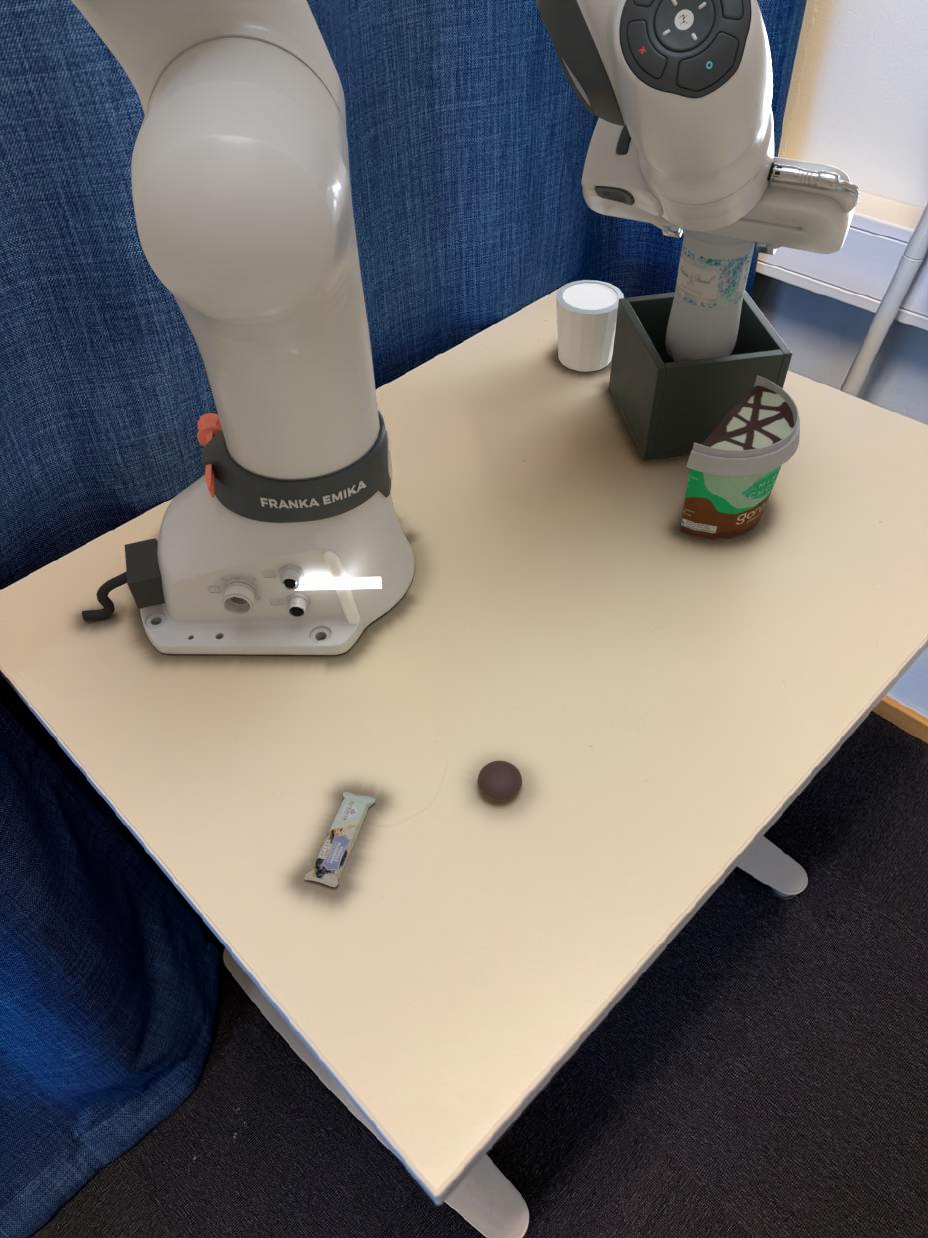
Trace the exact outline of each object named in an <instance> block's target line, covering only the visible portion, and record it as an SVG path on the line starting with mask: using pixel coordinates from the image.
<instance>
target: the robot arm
mask: <svg viewBox="0 0 928 1238" xmlns="http://www.w3.org/2000/svg"><path fill="white" fill-rule="evenodd" d="M70 1H71V2H72V4H73V5H74V6H75V7H76V8H77V10H78V11H79V12H80V14H82V16H83V17H84V19H86V21H87V22H88V23H89V25H90V26H91V28H93V30H94V31H95V32H96V34H97V35H98V36H99V38H100V39H101V40H102V42H103V43H104V45H105V46H106V47H107V49H109V51H110V52H111V54H112V55H113V56H114V58H115V59H116V60H117V62H118V63H119V65H120V66H121V67H122V69H123V70H124V72H125V74H126V76H127V77H128V79H129V80H130V82H131V84H132V86H133V87H134V89H135V91H136V94H137V96H138V98H139V101H140V104H141V108H142V110H143V114H144V117H143V119H142V123H141V124H140V128H139V131H138V133H137V137H136V140H135V142H134V147H133V151H132V156H131V163H130V179H131V180H130V183H131V196H132V197H131V198H132V204H133V205H132V206H133V211H134V218H135V224H136V229H137V234H138V239H139V242H140V246H141V250H142V251H143V253H144V256H145V258H146V261H147V263H148V264H149V266H150V268H151V269H152V271H153V273H154V274H155V276H156V277H157V278H158V280H159V281H160V283H162V285H163V286H164V287H165V288H166V289H167V290H168V291H169V292H170V293H171V294H172V297H173V298H174V300H175V302H176V304H177V305H178V308H179V310H180V311H181V313H182V315H183V319H184V320H185V322H186V323H187V326H188V328H189V330H190V332H191V334H192V336H193V339H194V341H195V343H196V345H197V348H198V351H199V353H200V356H201V358H202V362H203V365H204V369H205V373H206V376H207V380H208V384H209V387H210V390H211V395H212V398H213V402H214V405H215V408H216V412H217V413H212V412H208V413H204V414H202V415H201V416H200V417H199V419H198V420H197V433H196V434H197V435H196V438H197V441H198V443H199V444H200V445H201V446H202V449H201V455H200V456H201V457H200V459H201V465H202V470H203V473H204V474H203V475H202V476H200V477H199V478H198V479H196V480H195V481H194V482H192V483H191V484H190V485H189V486H187V487H186V488H184V489H183V490H181V491H180V492H179V493H178V494H176V495H175V496H174V497H173V498H172V499H171V500H170V502H169V503H168V505H167V507H166V510H165V512H164V514H163V516H162V517H163V518H162V520H161V524H160V527H159V531H158V537H157V538H156V537H155V538H150V539H145V540H141V541H140V540H139V541H135V542H131V543H126V544H124V556H125V570H126V571H124V572H122V573H119V574H118V575H116V576H114V577H111V578H110V579H107V580H106V581H105V582H104V583H103V584H101V585H100V586H99V588H98V589H97V590H96V600H97V602H98V603H99V604H100V606H101V607H102V608H100V609H99V608H98V609H86V610H85V609H84V610H82V611H81V617H82V620H83V621H84V622H86V621H99V620H105V619H107V618H109V617H111V616H112V615H113V614H114V613H115V609H116V608H115V607H116V606H115V603H114V601H113V600H112V599H111V598H110V597H109V594H110V592H112V591H114V590H115V589H117V588H119V587H122V586H124V585H125V584H127V587H128V588H129V591H130V594H131V595H132V598H133V600H134V602H135V605H136V607H137V609H138V610H139V613H140V618H141V622H142V626H143V630H144V631H145V635H146V636H147V638H148V640H149V642H150V643H151V644H152V646H153V647H154V649H156V650H157V651H158V652H159V653H161V654H168V655H268V656H269V655H270V656H271V655H278V656H280V655H283V656H285V655H286V656H287V655H288V656H289V655H290V656H292V655H294V656H299V655H301V656H337V655H342V654H344V653H346V652H348V651H349V650H350V649H351V648H352V647H353V646H354V645H355V644H356V642H357V641H358V640H359V638H360V637H361V636H362V633H364V631H365V629H366V628H367V627H368V626H369V625H370V624H372V623H373V622H375V621H376V620H377V619H379V618H380V617H382V616H383V615H385V614H386V613H388V612H389V611H390V610H391V609H392V608H393V607H395V606H396V605H397V604H398V603H399V602H400V601H401V599H402V598H403V597H404V596H405V594H406V593H407V591H408V590H409V587H410V586H411V584H412V582H413V578H414V575H415V570H416V559H415V554H414V551H413V548H412V546H411V544H410V542H409V540H408V538H407V536H406V534H405V532H404V530H403V528H402V525H401V522H400V520H399V517H398V514H397V511H396V507H395V504H394V501H393V497H392V480H393V465H392V455H391V446H390V439H389V433H388V430H387V429H386V425H385V420H384V417H383V415H382V413H381V412H380V410H379V408H378V400H377V391H376V379H375V372H374V364H373V354H372V345H371V337H370V327H369V321H368V315H367V309H366V302H365V295H364V288H363V280H362V279H363V278H362V272H361V265H360V256H359V249H358V248H359V247H358V242H357V241H358V239H357V233H356V232H357V231H356V225H355V216H354V207H353V197H352V185H351V170H350V157H349V155H350V154H349V142H348V136H347V133H348V132H347V118H346V116H347V114H346V113H347V112H346V99H345V92H344V89H343V85H342V82H341V79H340V76H339V73H338V71H337V69H336V66H335V63H334V61H333V59H332V57H331V54H330V52H329V50H328V46H327V45H326V42H325V40H324V37H323V35H322V32H321V31H320V29H319V26H318V24H317V21H316V19H315V17H314V14H313V12H312V10H311V7H310V5H309V2H308V1H307V0H70ZM536 7H537V9H538V12H539V15H540V18H541V20H542V22H543V24H544V27H545V29H546V31H547V33H548V35H549V37H550V39H551V43H552V45H553V48H554V51H555V53H556V56H557V60H558V62H559V65H560V67H561V68H562V71H563V73H564V75H565V78H566V79H567V82H568V83H569V85H570V87H571V89H572V90H573V92H574V94H575V95H576V97H577V98H578V100H579V101H580V103H581V104H582V105H583V107H584V108H585V109H586V110H587V111H588V112H589V113H590V114H592V115H594V116H595V117H597V118H598V119H597V121H596V124H595V127H594V130H593V133H592V136H591V139H590V141H589V146H588V149H587V152H586V156H585V161H584V165H583V171H582V176H581V181H580V182H581V183H580V184H581V187H582V189H581V191H582V196H583V199H584V201H585V203H586V205H587V207H588V208H589V209H590V210H592V211H593V212H595V213H597V214H600V215H603V216H608V217H615V218H619V219H625V220H630V221H631V220H632V221H637V222H643V223H648V224H652V226H654V227H656V228H658V229H660V230H661V232H662V235H663V236H666V237H671V238H677V239H680V238H681V237H682V235H683V231H682V229H686V230H691V231H698V232H703V233H709V234H714V235H720V236H725V237H731V238H737V239H742V240H748V241H753V242H755V249H756V250H755V252H756V253H758V254H759V253H760V254H765V255H769V256H775V253H776V251H777V250H778V249H780V248H786V249H787V248H788V249H793V250H799V251H804V252H810V253H815V254H820V255H831V254H835V253H837V252H839V251H841V250H842V248H843V246H844V243H845V240H846V238H847V235H848V233H849V229H850V226H851V223H852V220H853V217H854V213H855V209H856V207H857V205H858V203H859V199H860V187H859V185H858V184H857V183H854V182H852V181H851V178H850V176H849V175H848V173H846V172H845V171H844V170H842V169H841V168H839V167H836V166H833V165H830V164H824V163H821V162H814V161H813V162H812V161H806V160H799V159H792V158H786V157H780V156H779V157H778V156H775V131H774V128H775V127H774V114H773V110H772V102H773V101H772V100H773V92H774V91H773V90H774V89H773V88H774V83H773V80H774V79H773V66H772V55H771V48H770V43H769V37H768V33H767V30H766V25H765V21H764V18H763V15H762V11H761V9H760V5H759V2H758V0H536Z"/></svg>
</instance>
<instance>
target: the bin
mask: <svg viewBox="0 0 928 1238" xmlns="http://www.w3.org/2000/svg"><path fill="white" fill-rule="evenodd" d="M674 295H675V292H666V293H658V294H657V293H656V294H649V295H640V296H630V297H629V296H628V297H624V298H621V299H619V302H618V311H617V320H616V329H615V338H614V346H613V354H612V358H611V365H610V374H609V382H608V389H609V391H610V393H611V395H612V397H613V399H614V401H615V403H616V406H617V407H618V409H619V412H620V414H621V416H622V418H623V420H624V423H625V424H626V426H627V429H628V430H629V432H630V434H631V437H632V439H633V441H634V443H635V445H636V448H637V449H638V451H639V453H640V456H641V458H642V460H643V461H650V460H656V459H657V460H658V459H664V458H673V457H681V456H690V453H691V451H692V450H693V445H694V442H695V443H698V444H702V443H703V442H704V441H705V440H706V439H707V438H708V437H709V436H710V435H711V434H712V432H713V431H714V430H715V429H716V428H717V426H718V425H719V424H720V423H721V421H722V420H723V419H724V418H725V416H726V415H727V414H728V413H729V412H730V411H731V410H732V409H733V408H735V407H736V406H737V405H738V404H739V403H740V402H741V401H742V400H743V399H744V398H745V397H746V396H747V395H748V394H749V393H750V391H751V390H752V389H753V388H754V385H755V381H756V378H757V375H758V376H760V377H763V378H765V379H767V380H769V381H771V382H773V383H775V384H776V385H778V386H779V387H781V388H782V389H783V390H784V385H785V381H786V379H787V375H788V372H789V368H790V364H791V360H792V356H793V351H791V349H790V348H789V347H788V345H787V344H786V342H785V341H784V340H783V338H782V337H781V336H780V335H779V333H778V332H777V331H776V330H775V328H774V327H773V326H772V324H771V323H770V321H769V320H768V318H767V317H766V316H765V315H764V313H763V312H762V311H761V309H760V308H759V307H758V305H757V304H756V302H755V301H754V300H753V299H752V297H751V296H750V294H749V293H748V292H747V291H746V290H745V292H744V296H743V301H742V307H741V314H740V322H739V329H738V335H737V339H736V343H735V346H734V349H733V351H732V353H731V354H730V355H729V356H722V357H713V358H705V359H696V360H688V361H679V362H674V360H673V358H672V357H670V356H669V355H668V353H667V350H666V343H665V342H666V331H667V326H668V321H669V317H670V312H671V308H672V304H673V300H674Z"/></svg>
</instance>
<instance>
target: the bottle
mask: <svg viewBox="0 0 928 1238" xmlns="http://www.w3.org/2000/svg"><path fill="white" fill-rule="evenodd" d="M682 232H683V233H682V235H683V238H682V244H681V249H680V250H681V251H680V258H679V264H678V269H677V277H676V282H675V283H676V284H675V291H674V293H675V295H674V300H673V304H672V308H671V312H670V317H669V321H668V326H667V331H666V342H665V343H666V350H667V353H668V355H669V356H670V357H672V358H673V360H674V362H679V361H688V360H696V359H705V358H713V357H722V356H729V355H730V354H731V353H732V351H733V349H734V346H735V343H736V339H737V335H738V329H739V322H740V314H741V307H742V301H743V296H744V292H745V291H746V286H747V283H748V278H749V273H750V270H751V269H750V268H751V264H752V259H753V256H754V255H753V254H754V252H755V251H754V250H755V247H756V242H753V241H748V240H742V239H737V238H731V237H725V236H720V235H714V234H709V233H703V232H698V231H691V230H686V229H682Z"/></svg>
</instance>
